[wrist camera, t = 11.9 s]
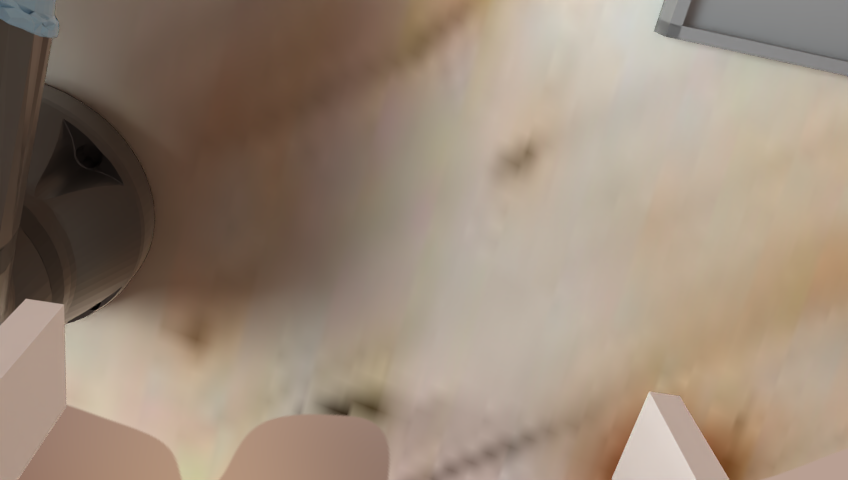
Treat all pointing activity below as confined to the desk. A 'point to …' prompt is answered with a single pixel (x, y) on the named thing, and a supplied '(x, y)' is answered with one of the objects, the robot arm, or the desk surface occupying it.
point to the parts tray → (765, 29)
